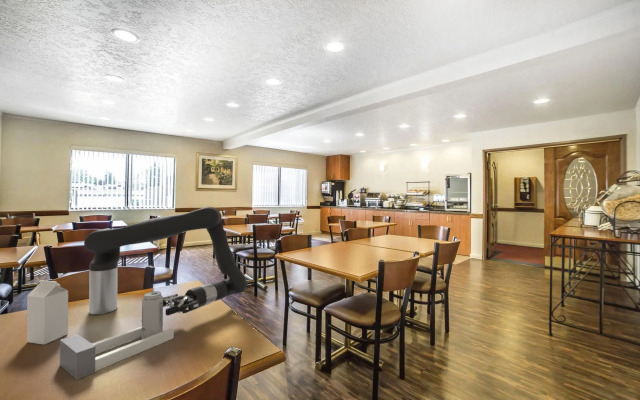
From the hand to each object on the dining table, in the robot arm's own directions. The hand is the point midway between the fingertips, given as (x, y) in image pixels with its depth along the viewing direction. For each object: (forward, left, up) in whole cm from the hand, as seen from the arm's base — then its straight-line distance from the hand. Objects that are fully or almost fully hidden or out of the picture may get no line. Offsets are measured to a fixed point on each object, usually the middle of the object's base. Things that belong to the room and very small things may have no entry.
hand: (159, 309), depth 97 cm
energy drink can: (0, -2, -9) cm, 9 cm away
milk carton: (-28, -21, -9) cm, 36 cm away
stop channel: (0, -11, -9) cm, 14 cm away
